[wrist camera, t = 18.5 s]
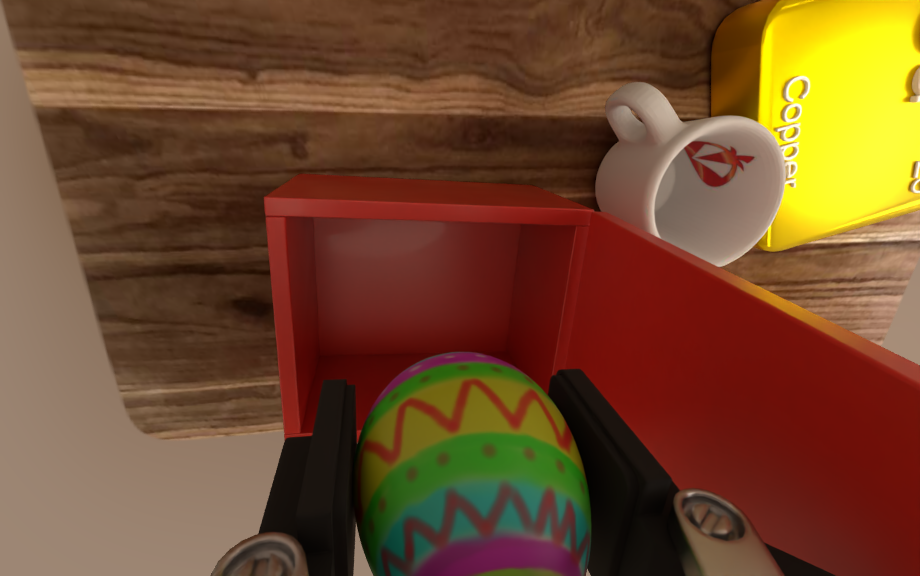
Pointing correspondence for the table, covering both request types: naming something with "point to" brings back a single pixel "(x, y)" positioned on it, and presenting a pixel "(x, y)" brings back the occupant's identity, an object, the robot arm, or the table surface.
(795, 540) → the box lid
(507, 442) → the egg
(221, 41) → the table surface
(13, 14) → the table surface
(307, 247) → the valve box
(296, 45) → the table surface
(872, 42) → the element tile
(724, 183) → the cup
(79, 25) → the table surface
